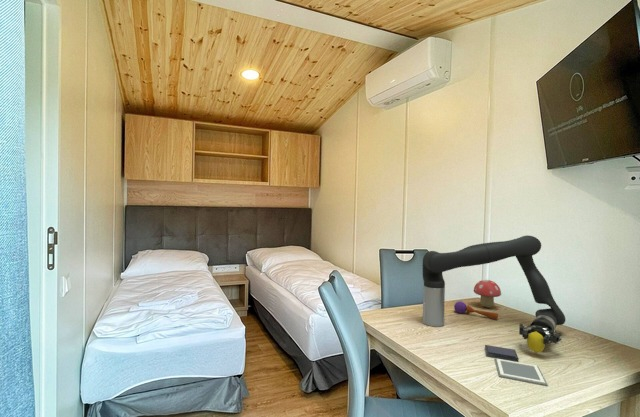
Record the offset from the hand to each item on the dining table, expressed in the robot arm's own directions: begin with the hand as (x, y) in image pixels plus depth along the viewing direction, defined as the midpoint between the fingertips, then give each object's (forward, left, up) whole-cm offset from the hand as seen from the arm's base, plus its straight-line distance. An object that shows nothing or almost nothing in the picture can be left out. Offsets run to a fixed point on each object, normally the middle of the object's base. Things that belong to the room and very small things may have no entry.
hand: (534, 338), depth 118 cm
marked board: (-7, -15, -7) cm, 17 cm away
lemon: (+1, +2, -6) cm, 7 cm away
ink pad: (-11, -3, -7) cm, 13 cm away
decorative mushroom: (-11, +60, -7) cm, 62 cm away
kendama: (-17, +43, -7) cm, 47 cm away
